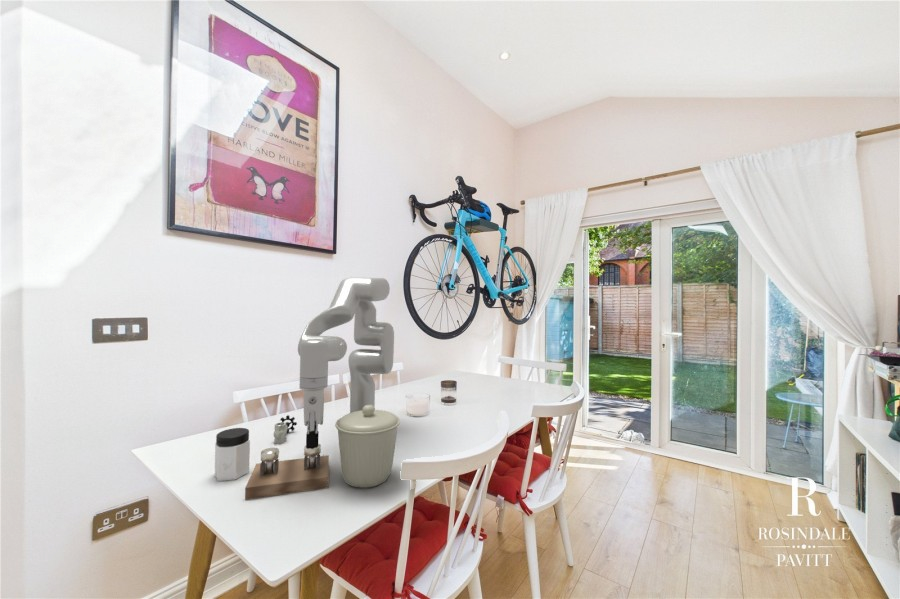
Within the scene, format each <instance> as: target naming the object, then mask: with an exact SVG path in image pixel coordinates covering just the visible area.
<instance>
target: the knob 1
mask: <svg viewBox="0 0 900 599" xmlns="http://www.w3.org/2000/svg"><path fill="white" fill-rule="evenodd" d="M279 454H280V451H279V448H278V447H270V448H269V447H268V448H264V449H263V450H261V451H260V461H261V462H262V461H263V462H265V463H266V467H265V474H272V473H273V472H274V462H275V460H276V459H279V457H280V455H279Z"/></svg>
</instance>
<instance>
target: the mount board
mask: <svg viewBox="0 0 900 599" xmlns="http://www.w3.org/2000/svg"><path fill="white" fill-rule="evenodd" d="M308 462H309V457H307V456H305V455H304V457H303V458H302V457H301V458H293V459H286V460H280V459H279V458H278V459H276V460H274V472H273V473H272V474H265V467H266V462H263V461H261V462H260V463H255V465H254V468H253V469H252V472H251V475H250V477H249V479H248V480H247V483H246V485H245V488H244V500H246V501H247V500H254V499H261V498H267V497H273V496H281V495H288V494H295V493H296V494H297V493H302V492H309V491H315V490H322V489H329V486H330V485H329V480H330V478H329V475H330V474H329V471H330V469H329V468H330V456H329V455H327V454H326V455H321V453H320V454H319V455H317V456H316V468H314V469H309V468H308Z"/></svg>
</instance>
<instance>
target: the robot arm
mask: <svg viewBox="0 0 900 599" xmlns="http://www.w3.org/2000/svg"><path fill="white" fill-rule="evenodd" d="M389 294H390V284H389V281H388V280H387V279H386V278H384V277H383V278H382V277H346V278H344V279H342V280H341V281H340V282H339V285H338V287H337V289H336V290H335V294H334V296H333V298H332V301H331V303H330V305H329V307H328V308H327V309H325V310H323V311H322V312H321V313H319V314H317V315H316V316H315V317H313V318H312V319H311V320H310V321H308V323H307V324H306V326H305V327H304V329H303V332H302V334H301V335H300V338H299V341H298V344H297V353H298V355H299V358H300V360H299V390H300V391H301V390H302V391H303V423H304V424H303V425H304V426H305V427H306V434H305V437H306V438H305V446H306V448H315V447H318V444H319V433H320V432H319V425H320V426H322V425H324V409H325V408H324V407H325V402H324V401H325V391H324V390H325V389H327V388H328V382H329V380H328V377H329V376H328V374H329V362H336V361H340V360H342V359H343V358H344V357H345V356H346V354H347V350H348V344H347V342H346V341H345V339H343V338H342V337H339V336H334V335H333V336H331V335H330V336H329V335H322V334H323V333H325V332H326V331H328V330H330V329H333V328H336V327H338V326H342V325H344V324H347V323H349V322H351V321H352V320H353V319H354V320H353V321H354V323H353V341H354V343H355V344H356V345H359V346H366V347H367V346H369V347H380V349H374V348H373V349H372V348H357V349H354V350H352V351H351V352H350V354H349V356H348V369H349V374H350V375H349V377H350V389H349V390H350V394H349V399H350V400H349V413H352V412H355V411H361V410H362V409H363V407H364V406H365V405H373V406H374V408H375V404H376V403H375V402H376V401H375V399H376V396H375V395H376V394H375V393H376V382H375V380H374V378H373V377H372V375H371V374H374V375H386V374H387V375H388V374H390V373H391V372H392V370H393V366H394V353H395V331H394V327H393V326H392V324H391V323H389V322H382V321H377V308H376V306H375V304H374V303H373V302H380V301H384V300H387V298H388V296H389ZM375 409H376V408H375Z"/></svg>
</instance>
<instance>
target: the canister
mask: <svg viewBox="0 0 900 599" xmlns="http://www.w3.org/2000/svg"><path fill="white" fill-rule="evenodd" d="M400 424H401V419H400V418H399V416H397V415H395V414H394V413H392V412H390V411H386V410H382V409H376V408H374V406H373V405H365V406H364V407H363V409H362V410H361V411H355V412H352V413H350V412H349V413H346V414H344V415H343V416H342V417H340V418H338V419H337V420H336V421H335V424H334V427H335V429H336V430H337V434H338V435H337V437H338V438H337V439H338V446H339V459H340V465H341V473H342V477H343V479H344V481H345V482H346V483H347V484H348V485H350V486H351V487H355V488H361V489H364V488H365V489H366V488H373V487H376V486H378V485H382V484H383V483H384V482H385V481H387V479H388V478H389V477H390V475H391V473H392V468H393V463H394V457H395V451H396V450H395V449H396V443H397V433H398V426H399V425H400Z"/></svg>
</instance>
